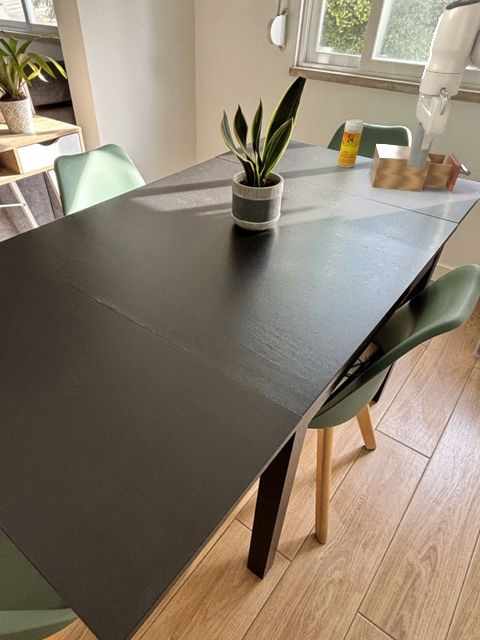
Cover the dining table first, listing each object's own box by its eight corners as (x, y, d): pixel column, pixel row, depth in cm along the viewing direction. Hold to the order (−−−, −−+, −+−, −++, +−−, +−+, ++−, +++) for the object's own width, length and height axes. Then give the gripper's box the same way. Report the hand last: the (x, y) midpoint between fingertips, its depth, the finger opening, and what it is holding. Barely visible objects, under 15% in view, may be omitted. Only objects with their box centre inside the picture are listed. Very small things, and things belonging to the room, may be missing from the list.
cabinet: (414, 176, 150) (424, 147, 144) (421, 191, 140) (431, 161, 133) (369, 172, 153) (376, 144, 146) (372, 187, 142) (379, 157, 136)
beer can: (337, 167, 156) (346, 122, 146) (337, 162, 161) (346, 118, 151) (354, 169, 155) (364, 123, 145) (354, 163, 160) (364, 119, 150)
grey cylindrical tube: (409, 161, 119) (420, 120, 112) (426, 164, 117) (439, 123, 110) (405, 166, 116) (417, 124, 109) (422, 169, 114) (436, 127, 107)
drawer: (457, 178, 147) (466, 154, 142) (466, 192, 138) (476, 167, 132) (401, 173, 150) (408, 149, 145) (405, 187, 140) (413, 162, 135)
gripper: (463, 93, 96) (442, 158, 105) (445, 77, 111) (428, 135, 120) (434, 92, 97) (415, 156, 106) (420, 76, 112) (404, 134, 121)
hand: (421, 145), depth 113 cm, fingers closed on grey cylindrical tube, 4 cm apart
